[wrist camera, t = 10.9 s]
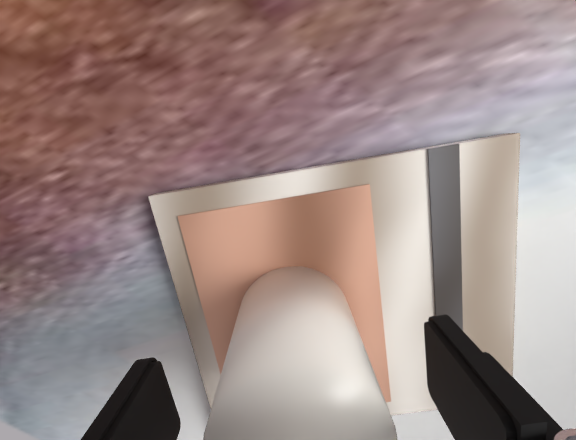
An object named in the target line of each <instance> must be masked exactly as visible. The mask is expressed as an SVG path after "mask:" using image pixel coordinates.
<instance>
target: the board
mask: <svg viewBox="0 0 576 440" xmlns="http://www.w3.org/2000/svg"><path fill="white" fill-rule="evenodd" d="M519 151H520V133H508V134H500V135H494V136H489V137H483V138H477V139H471V140H465V141H459V142H453V143H448V144H442V145H436V146H430V147H424V148H418V149H413V150H407V151H401V152H395V153H389V154H383V155H377V156H372V157H366V158H360V159H354V160H348V161H342V162H337V163H331V164H325V165H319V166H313V167H307V168H301V169H296V170H290V171H284V172H278V173H272V174H266V175H261V176H255V177H249V178H243V179H237V180H231V181H225V182H220V183H214V184H208V185H202V186H196V187H190V188H185V189H179V190H173V191H167V192H161V193H156V194H153V195H151V196H148V198H149V201H150V204H151V208H152V211H153V215H154V218H155V221H156V225H157V228H158V232H159V235H160V238H161V242H162V245H163V249H164V252H165V255H166V259H167V262H168V265H169V269H170V272H171V276H172V279H173V282H174V286H175V289H176V293H177V296H178V299H179V303H180V306H181V310H182V313H183V316H184V320H185V323H186V327H187V330H188V333H189V337H190V340H191V344H192V347H193V350H194V354H195V357H196V360H197V364H198V367H199V371H200V374H201V377H202V381H203V384H204V388H205V391H206V394H207V398H208V401H209V405H210V408H211V407H212V404H213V400H214V397H215V393H216V390H217V386H218V383H219V379H220V376H221V372H222V369H223V365H224V362H225V358H226V355H227V351H228V347H229V344H230V340H231V337H232V333H233V330H234V326H235V323H236V319H237V316H238V312H239V309H240V305H241V302H242V299H243V297H244V295H245V293H246V291H247V290H248V288H249V287H250V286H251V285H252V284H253V283H254V282H255V281H256V280H257V279H258V278H260V277H261V276H262V275H264V274H266V273H268V272H270V271H272V270H275V269H278V268H283V267H290V266H300V267H307V268H310V269H314V270H317V271H319V272H321V273H323V274H325V275H327V276H328V277H329V278H331V279H332V280H333V281H334V282H335V283H336V284H337V285H338V286H339V287H340V289H341V290H342V292H343V294H344V295H345V297H346V300H347V303H348V305H349V308H350V310H351V313H352V316H353V318H354V321H355V323H356V326H357V329H358V331H359V334H360V336H361V339H362V342H363V344H364V347H365V349H366V352H367V355H368V357H369V360H370V362H371V365H372V368H373V370H374V373H375V375H376V378H377V381H378V383H379V386H380V388H381V391H382V394H383V396H384V399H385V401H386V404H387V407H388V409H389V412H390V414H391V416H393V415H400V414H408V413H415V412H423V411H430V410H438V409H437V407H436V405H435V403H434V402H433V400H432V398H431V396H430V393H429V390H428V386H427V371H426V353H425V336H424V322H428V319H429V317H431V316H438V315H445V314H446V315H448V316H450V318H451V319H452V320H453V321H454V322H455V323H456V324H457V325H458V326H459V327H460V328H461V329H462V330H463V332H464V333H465V334H466V335H467V336H468V337H469V338H470V339H471V340H472V341H473V342H474V343H475V344H476V345H477V347H478V348H479V349H480V350H481V351H482V352H487V353H489V354H490V355H492V356H493V357H494V358H495V359H496V360H497V361H498V362H499V363H500V364H501V365H502V366H503V368H504V369H505V370H506V371H507V372H508V373H509V374H510V375H511V376H512V375H513V343H514V311H515V279H516V247H517V215H518V183H519Z"/></svg>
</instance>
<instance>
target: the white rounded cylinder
mask: <svg viewBox="0 0 576 440" xmlns="http://www.w3.org/2000/svg"><path fill="white" fill-rule="evenodd" d="M203 440H397V434H396V429H395V425H394V422H393V420H392V417H391V414H390V412H389V409H388V407H387V404H386V401H385V399H384V396H383V394H382V391H381V388H380V386H379V383H378V381H377V378H376V375H375V373H374V370H373V368H372V365H371V362H370V360H369V357H368V355H367V352H366V349H365V347H364V344H363V342H362V339H361V336H360V334H359V331H358V329H357V326H356V323H355V321H354V318H353V316H352V313H351V310H350V308H349V305H348V303H347V300H346V297H345V295H344V294H343V292H342V290H341V289H340V287H339V286H338V285H337V284H336V283H335V282H334V281H333V280H332V279H331V278H329V277H328V276H327V275H325V274H323V273H321V272H319V271H317V270H314V269H310V268H307V267H300V266H290V267H283V268H278V269H275V270H272V271H270V272H268V273H266V274H264V275H262V276H261V277H260V278H258V279H257V280H256V281H255V282H254V283H253V284H252V285H251V286H250V287H249V288H248V290H247V291H246V293H245V295H244V297H243V299H242V302H241V305H240V309H239V312H238V316H237V319H236V323H235V326H234V330H233V333H232V337H231V340H230V344H229V347H228V351H227V355H226V358H225V362H224V365H223V369H222V372H221V376H220V379H219V383H218V386H217V390H216V393H215V397H214V400H213V404H212V407H211V411H210V415H209V418H208V422H207V425H206V429H205V432H204V439H203Z"/></svg>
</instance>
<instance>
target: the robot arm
mask: <svg viewBox="0 0 576 440" xmlns="http://www.w3.org/2000/svg"><path fill="white" fill-rule="evenodd" d="M424 336H425V353H426V371H427V386H428V390H429V393H430V396H431V398H432V400H433V402H434V403H435V405H436V407H437V409H438V410H439V412H440V414H441V416H442V418H443V419H444V421H445V423H446V425H447V426H448V428H449V430H450V432H451V434H452V435H453V437H454V439H455V440H576V429H566V430H563V429H562V428H561V427H560V426H559V425H558V424H557V423H556V422H555V421H554V420H553V419H552V418H551V417H550V415H549V414H548V413H547V412H546V411H545V410H544V409H543V408H542V407H541V406H540V405H539V404H538V403H537V402H536V401H535V400H534V399H533V398H532V397H531V396H530V395H529V394H528V393H527V392H526V390H525V389H524V388H523V387H522V386H521V385H520V384H519V383H518V382H517V381H516V380H515V379H514V378H513V377H512V376H511V375H510V374H509V373H508V372H507V371H506V370H505V369H504V368H503V366H502V365H501V364H500V363H499V362H498V361H497V360H496V359H495V358H494V357H493V356H492V355H490V354H489V353H487V352H482V351H481V350H480V349H479V348H478V347H477V345H476V344H475V343H474V342H473V341H472V340H471V339H470V338H469V337H468V336H467V335H466V334H465V333H464V332H463V330H462V329H461V328H460V327H459V326H458V325H457V324H456V323H455V322H454V321H453V320H452V319H451V318H450V316H448V315H446V314H445V315H438V316H431V317H429V319H428V322H424ZM179 431H180V418H179V415H178V412H177V409H176V406H175V403H174V400H173V397H172V394H171V391H170V388H169V385H168V382H167V379H166V376H165V373H164V370H163V367H162V364H161V362H160V361H157V360H156V359H155V358H147V359H140V360H137V361H135V363H134V364H133V365H132V367H131V368H130V370H129V371H128V372H127V374H126V375H125V377H124V378H123V380H122V381H121V383H120V384H119V385H118V387H117V388H116V390H115V391H114V393H113V394H112V396H111V397H110V398H109V400H108V401H107V403H106V404H105V406H104V407H103V408H102V410H101V411H100V413H99V414H98V416H97V417H96V419H95V420H94V421H93V423H92V424H91V426H90V427H89V429H88V430H87V432H86V433H85V434H84V436H83V437H82V439H81V440H176V439H177V437H178V434H179Z"/></svg>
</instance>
